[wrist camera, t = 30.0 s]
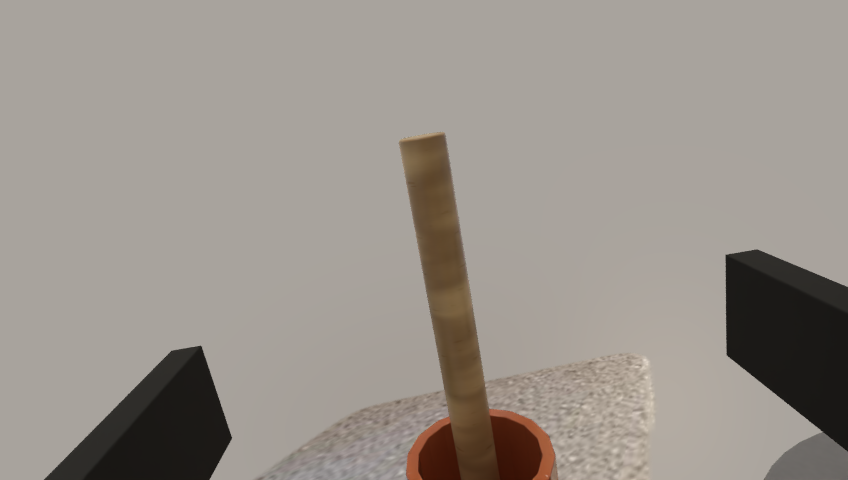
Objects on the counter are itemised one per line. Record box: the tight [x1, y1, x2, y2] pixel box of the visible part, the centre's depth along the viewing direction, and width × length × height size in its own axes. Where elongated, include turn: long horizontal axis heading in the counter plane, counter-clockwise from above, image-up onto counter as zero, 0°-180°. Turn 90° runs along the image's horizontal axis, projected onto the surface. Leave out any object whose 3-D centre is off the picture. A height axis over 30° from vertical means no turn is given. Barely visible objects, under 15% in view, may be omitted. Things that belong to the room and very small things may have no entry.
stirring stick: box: [399, 132, 500, 480], centre depth 24 cm, size 2×2×24 cm
